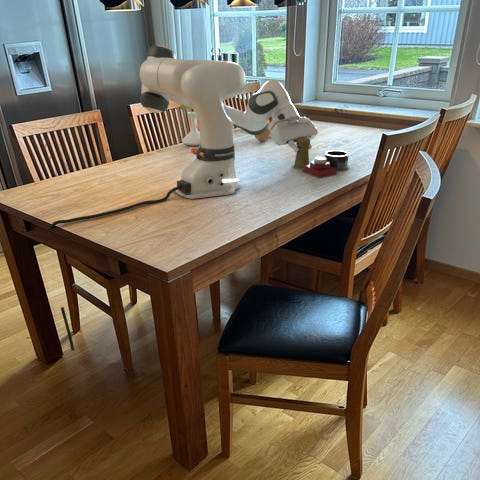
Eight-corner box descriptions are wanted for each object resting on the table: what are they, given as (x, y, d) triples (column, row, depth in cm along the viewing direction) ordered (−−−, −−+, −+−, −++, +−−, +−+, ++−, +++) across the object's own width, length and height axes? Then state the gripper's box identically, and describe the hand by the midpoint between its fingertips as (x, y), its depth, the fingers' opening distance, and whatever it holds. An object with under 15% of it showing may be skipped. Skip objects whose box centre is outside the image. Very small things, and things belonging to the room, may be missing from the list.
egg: (271, 139, 231) (271, 114, 225) (270, 143, 224) (270, 117, 218) (254, 139, 232) (254, 114, 226) (252, 143, 225) (252, 117, 219)
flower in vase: (210, 142, 227) (207, 83, 214) (202, 148, 218) (199, 87, 204) (184, 141, 230) (179, 83, 216) (175, 146, 221) (170, 86, 207)
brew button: (319, 165, 180) (319, 160, 179) (311, 162, 183) (312, 157, 182) (328, 163, 181) (328, 158, 180) (321, 160, 185) (321, 156, 184)
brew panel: (319, 177, 179) (320, 166, 177) (303, 171, 186) (303, 160, 184) (336, 174, 182) (337, 163, 180) (319, 168, 189) (320, 157, 187)
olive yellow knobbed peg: (308, 169, 188) (310, 139, 182) (293, 168, 189) (294, 139, 183) (309, 165, 193) (311, 136, 187) (294, 164, 194) (296, 135, 188)
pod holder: (333, 172, 184) (335, 157, 181) (319, 166, 191) (320, 152, 188) (351, 168, 188) (353, 154, 185) (336, 163, 195) (338, 149, 192)
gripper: (303, 121, 196) (318, 150, 195) (264, 128, 186) (280, 159, 185) (311, 110, 191) (327, 141, 189) (272, 117, 180) (288, 149, 179)
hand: (303, 150), depth 187 cm, fingers closed on olive yellow knobbed peg, 5 cm apart
